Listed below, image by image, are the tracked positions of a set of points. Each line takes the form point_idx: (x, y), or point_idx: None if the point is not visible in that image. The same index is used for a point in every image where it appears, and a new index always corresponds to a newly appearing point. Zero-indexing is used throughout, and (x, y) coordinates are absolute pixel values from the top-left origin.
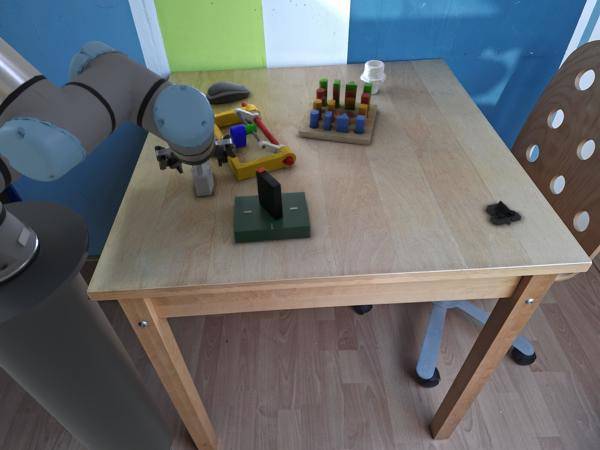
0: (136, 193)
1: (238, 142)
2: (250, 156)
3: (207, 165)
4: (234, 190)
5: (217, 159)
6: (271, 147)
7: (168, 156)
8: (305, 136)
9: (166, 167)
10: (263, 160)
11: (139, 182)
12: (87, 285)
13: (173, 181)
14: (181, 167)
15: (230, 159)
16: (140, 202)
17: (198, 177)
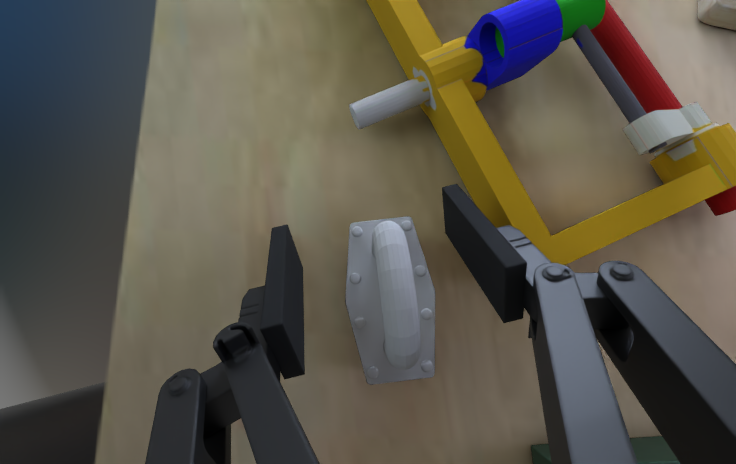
0: (134, 333)
1: (504, 79)
2: (531, 129)
3: (420, 281)
4: (504, 333)
5: (451, 220)
6: (676, 138)
7: (229, 380)
8: (726, 25)
9: (230, 454)
10: (644, 216)
11: (138, 266)
12: (94, 453)
13: (264, 266)
14: (298, 283)
15: (494, 198)
16: (155, 389)
17: (392, 379)
